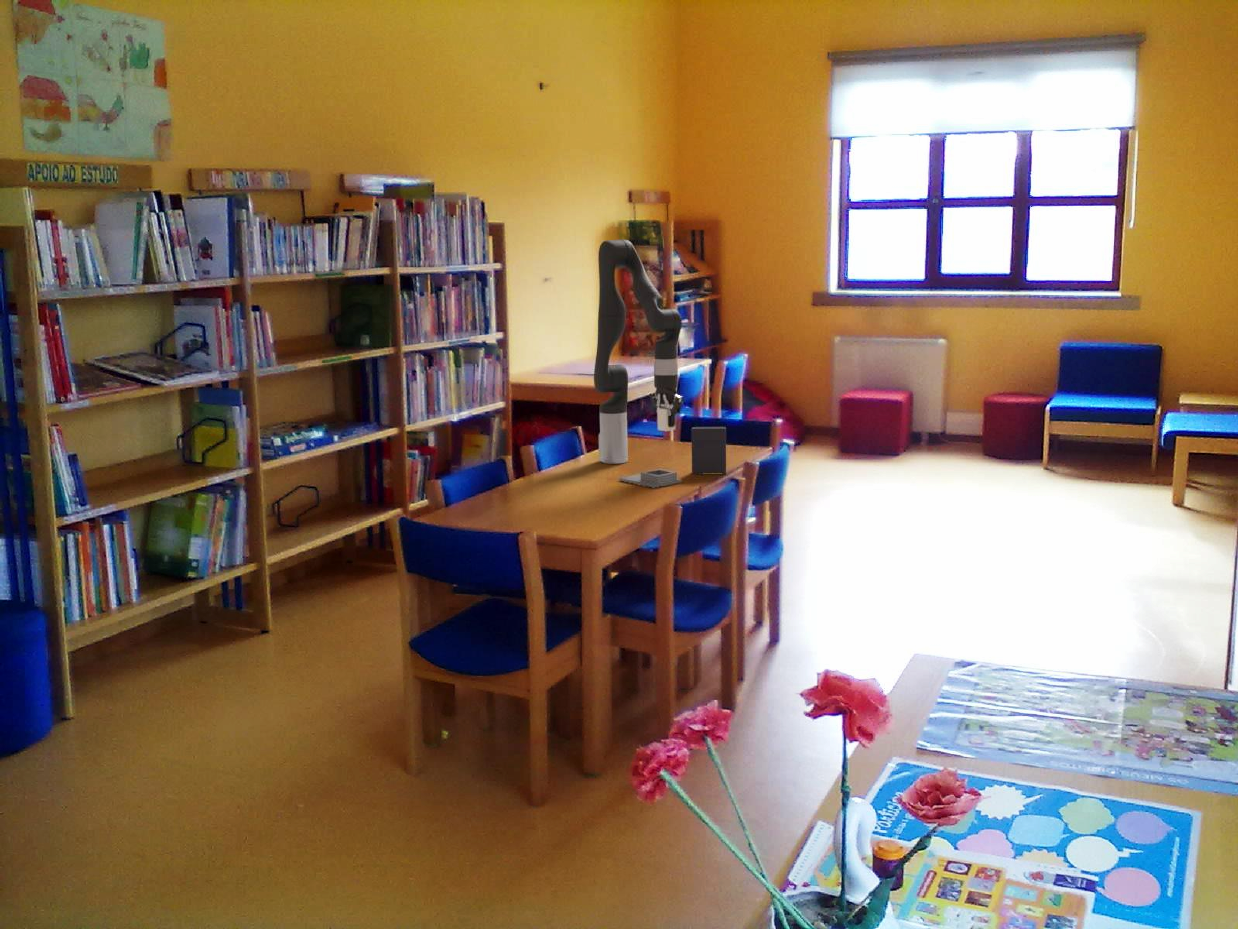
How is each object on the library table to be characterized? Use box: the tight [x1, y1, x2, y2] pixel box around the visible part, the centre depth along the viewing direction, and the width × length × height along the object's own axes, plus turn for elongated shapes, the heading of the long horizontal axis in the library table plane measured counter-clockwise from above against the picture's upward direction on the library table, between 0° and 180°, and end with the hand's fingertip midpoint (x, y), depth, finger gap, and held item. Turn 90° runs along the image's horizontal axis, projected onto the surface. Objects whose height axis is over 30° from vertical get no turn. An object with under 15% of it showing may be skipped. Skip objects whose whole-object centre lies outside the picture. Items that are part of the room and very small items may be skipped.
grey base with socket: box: [618, 468, 682, 489], centre depth 377 cm, size 16×12×4 cm
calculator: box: [690, 426, 727, 475], centre depth 386 cm, size 11×4×15 cm, turn 84°
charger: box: [656, 405, 676, 432], centre depth 383 cm, size 4×4×8 cm
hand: (666, 425), depth 384 cm, fingers closed on charger, 4 cm apart
